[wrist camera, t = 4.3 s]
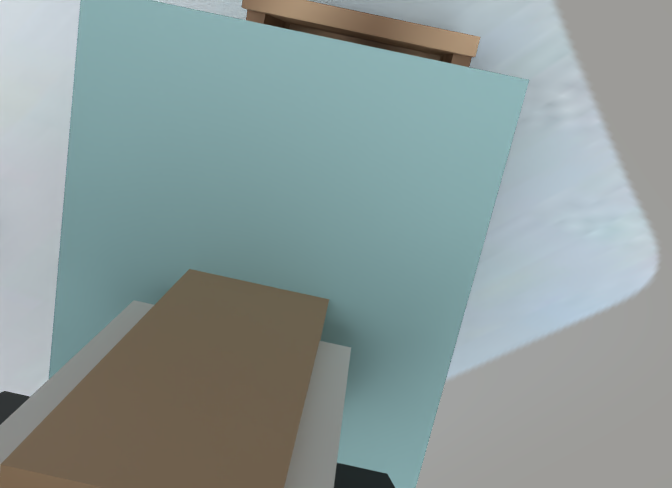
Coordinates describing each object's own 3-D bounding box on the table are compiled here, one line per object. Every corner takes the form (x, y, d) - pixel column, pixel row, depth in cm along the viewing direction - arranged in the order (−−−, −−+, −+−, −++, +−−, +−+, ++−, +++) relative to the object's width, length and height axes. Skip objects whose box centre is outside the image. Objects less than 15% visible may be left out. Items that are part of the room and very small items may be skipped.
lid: (60, 516, 20) (-219, 901, 11) (110, -8, 16) (-284, -110, 6) (376, 587, 20) (368, 1041, 11) (515, 78, 15) (705, 97, 6)
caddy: (230, 303, 41) (186, 370, 32) (280, 6, 36) (244, -13, 27) (385, 337, 40) (384, 414, 32) (457, 44, 35) (480, 37, 27)
